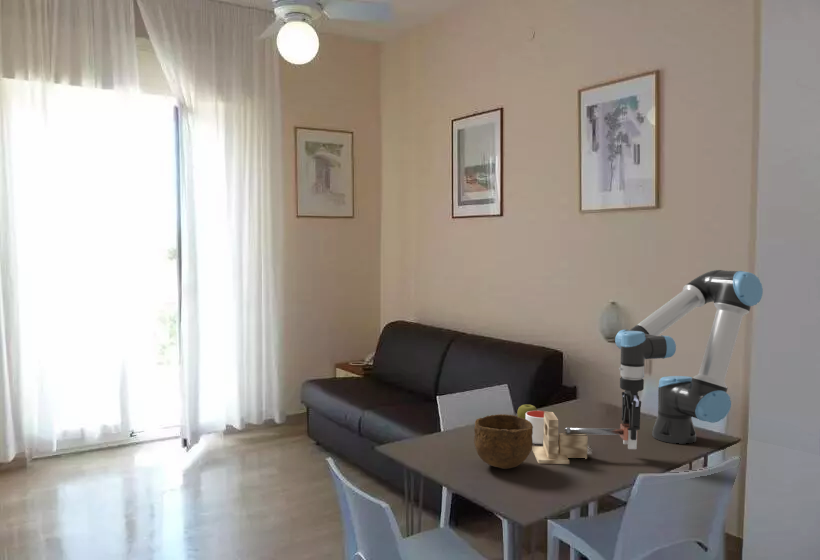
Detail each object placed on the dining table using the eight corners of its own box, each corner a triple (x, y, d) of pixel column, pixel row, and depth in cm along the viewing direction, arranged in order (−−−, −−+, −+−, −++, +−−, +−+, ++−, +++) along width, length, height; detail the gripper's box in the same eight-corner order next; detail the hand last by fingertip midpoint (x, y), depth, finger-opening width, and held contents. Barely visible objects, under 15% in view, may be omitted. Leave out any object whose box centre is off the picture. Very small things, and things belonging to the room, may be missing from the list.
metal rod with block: (633, 436, 218) (633, 423, 218) (637, 440, 214) (637, 427, 214) (562, 435, 219) (562, 422, 219) (565, 439, 215) (565, 426, 214)
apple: (538, 426, 254) (539, 408, 253) (518, 425, 254) (518, 407, 253) (535, 420, 261) (535, 403, 261) (515, 420, 261) (516, 403, 261)
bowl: (519, 482, 194) (520, 433, 193) (463, 469, 204) (464, 423, 203) (541, 464, 210) (542, 419, 209) (488, 453, 220) (489, 410, 219)
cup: (553, 446, 229) (553, 418, 228) (524, 444, 231) (525, 416, 230) (552, 438, 238) (553, 411, 238) (525, 436, 240) (525, 409, 240)
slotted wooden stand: (581, 450, 224) (582, 411, 223) (591, 464, 210) (592, 422, 209) (532, 449, 225) (532, 410, 224) (538, 463, 211) (539, 421, 210)
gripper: (613, 372, 224) (611, 438, 225) (628, 383, 206) (626, 454, 208) (635, 372, 223) (633, 438, 225) (652, 383, 206) (649, 455, 207)
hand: (629, 446), depth 216 cm, fingers closed on metal rod with block, 4 cm apart
